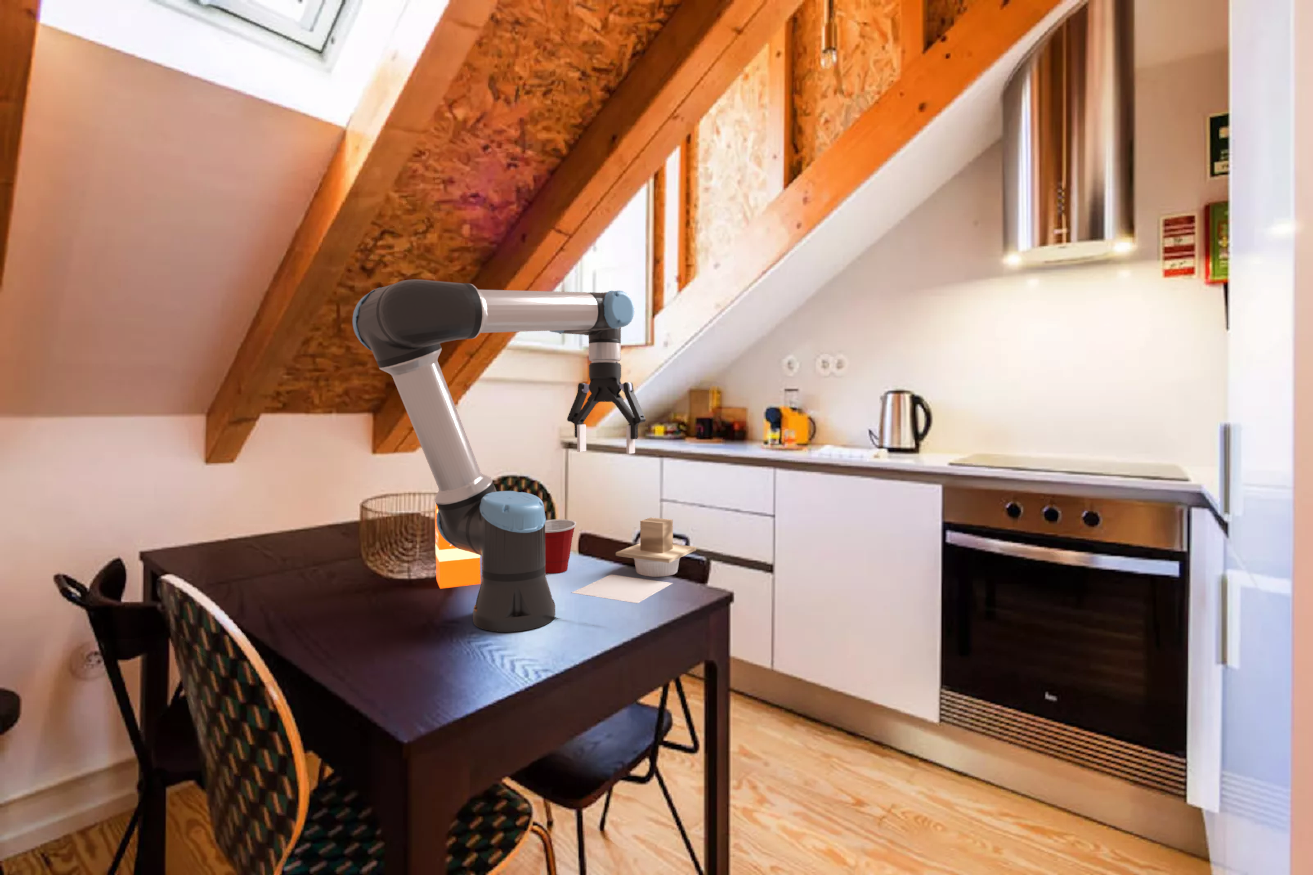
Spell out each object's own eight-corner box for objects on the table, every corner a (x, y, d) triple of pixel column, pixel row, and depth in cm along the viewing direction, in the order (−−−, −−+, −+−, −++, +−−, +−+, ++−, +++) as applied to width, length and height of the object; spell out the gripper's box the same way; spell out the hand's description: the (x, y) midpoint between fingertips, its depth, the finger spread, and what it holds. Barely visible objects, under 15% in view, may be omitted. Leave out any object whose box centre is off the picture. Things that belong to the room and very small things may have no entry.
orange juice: (480, 584, 146) (479, 495, 145) (439, 588, 142) (437, 498, 141) (475, 575, 153) (473, 491, 152) (435, 579, 149) (433, 493, 148)
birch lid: (668, 562, 145) (668, 528, 144) (615, 555, 151) (615, 522, 151) (696, 550, 157) (696, 518, 156) (645, 544, 164) (645, 513, 163)
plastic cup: (521, 575, 153) (520, 524, 152) (550, 565, 162) (549, 517, 162) (558, 581, 148) (557, 529, 147) (586, 570, 157) (585, 521, 156)
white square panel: (637, 606, 130) (637, 603, 130) (571, 595, 137) (571, 592, 137) (672, 585, 144) (672, 583, 144) (610, 577, 151) (610, 574, 151)
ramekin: (685, 570, 158) (685, 548, 158) (674, 582, 147) (674, 559, 147) (641, 567, 161) (641, 546, 161) (627, 579, 150) (627, 556, 150)
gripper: (659, 361, 150) (660, 453, 151) (570, 364, 162) (571, 449, 163) (644, 359, 143) (644, 455, 145) (552, 363, 155) (553, 451, 156)
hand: (605, 452), depth 154 cm, fingers open, 13 cm apart
